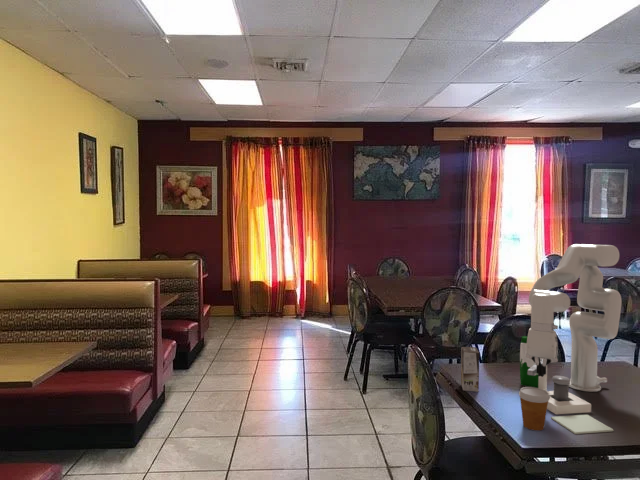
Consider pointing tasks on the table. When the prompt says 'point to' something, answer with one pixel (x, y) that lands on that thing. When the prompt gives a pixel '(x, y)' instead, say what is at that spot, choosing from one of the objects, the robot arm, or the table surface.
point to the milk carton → (526, 366)
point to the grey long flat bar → (533, 369)
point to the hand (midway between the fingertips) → (541, 375)
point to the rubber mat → (581, 424)
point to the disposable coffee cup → (534, 407)
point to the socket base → (564, 407)
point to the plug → (561, 388)
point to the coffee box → (470, 369)
